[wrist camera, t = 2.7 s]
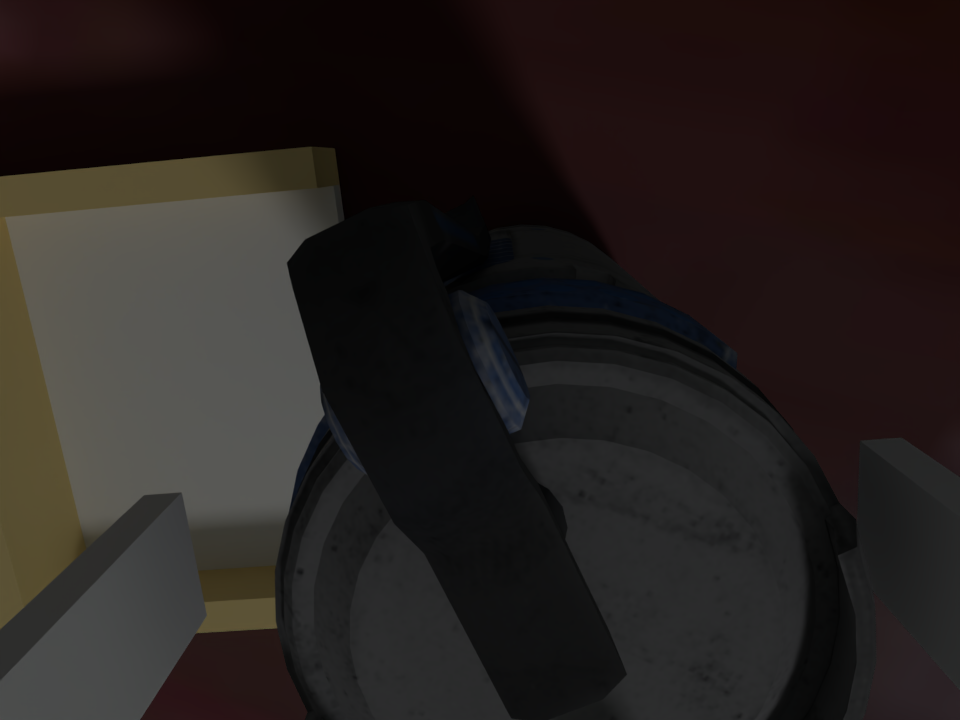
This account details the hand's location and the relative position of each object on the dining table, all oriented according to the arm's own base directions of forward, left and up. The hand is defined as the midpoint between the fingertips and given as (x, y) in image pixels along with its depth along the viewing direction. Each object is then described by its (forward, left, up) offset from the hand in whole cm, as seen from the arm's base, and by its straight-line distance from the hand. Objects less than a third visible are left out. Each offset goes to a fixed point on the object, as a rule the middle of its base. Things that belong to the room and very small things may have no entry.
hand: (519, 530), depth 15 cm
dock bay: (+2, -14, -20) cm, 24 cm away
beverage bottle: (0, 0, -20) cm, 20 cm away
